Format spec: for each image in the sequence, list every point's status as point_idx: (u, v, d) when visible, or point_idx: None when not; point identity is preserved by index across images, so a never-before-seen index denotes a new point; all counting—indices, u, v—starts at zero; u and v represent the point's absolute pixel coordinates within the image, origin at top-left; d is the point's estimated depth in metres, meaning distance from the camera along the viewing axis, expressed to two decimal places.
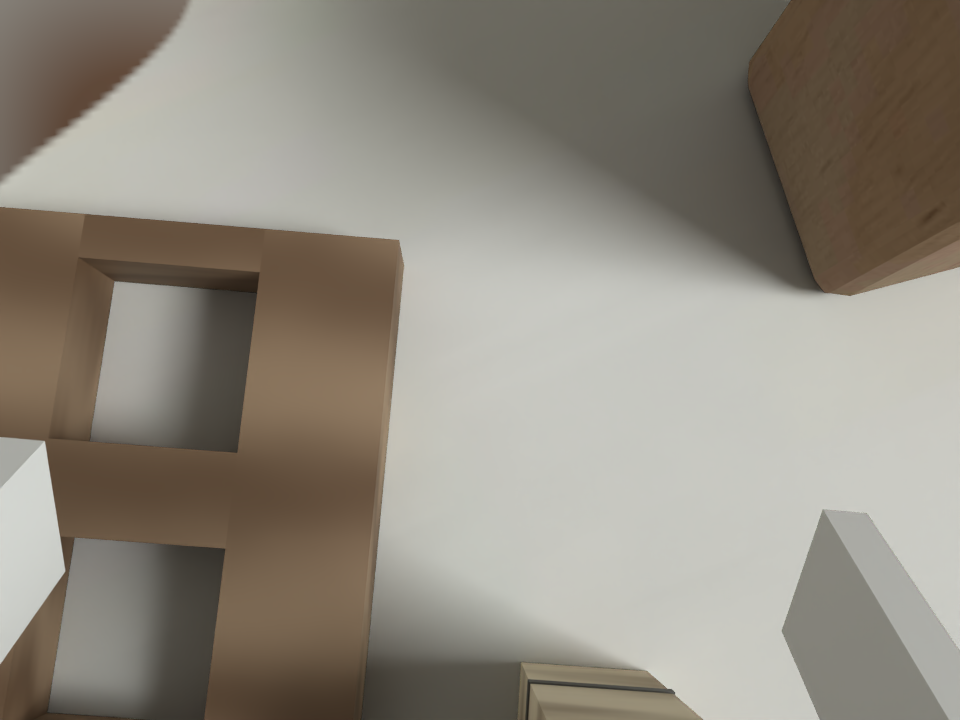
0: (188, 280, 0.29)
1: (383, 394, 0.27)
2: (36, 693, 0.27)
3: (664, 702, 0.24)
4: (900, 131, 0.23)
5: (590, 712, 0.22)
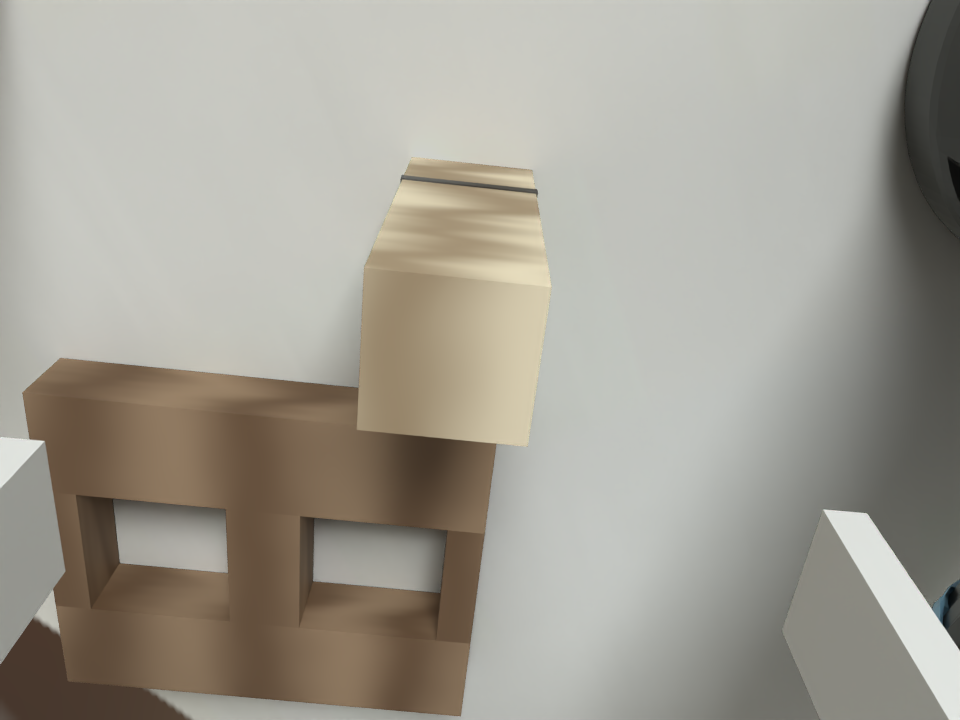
0: (103, 524, 0.36)
1: (162, 406, 0.31)
2: (420, 606, 0.38)
3: None
4: None
5: None
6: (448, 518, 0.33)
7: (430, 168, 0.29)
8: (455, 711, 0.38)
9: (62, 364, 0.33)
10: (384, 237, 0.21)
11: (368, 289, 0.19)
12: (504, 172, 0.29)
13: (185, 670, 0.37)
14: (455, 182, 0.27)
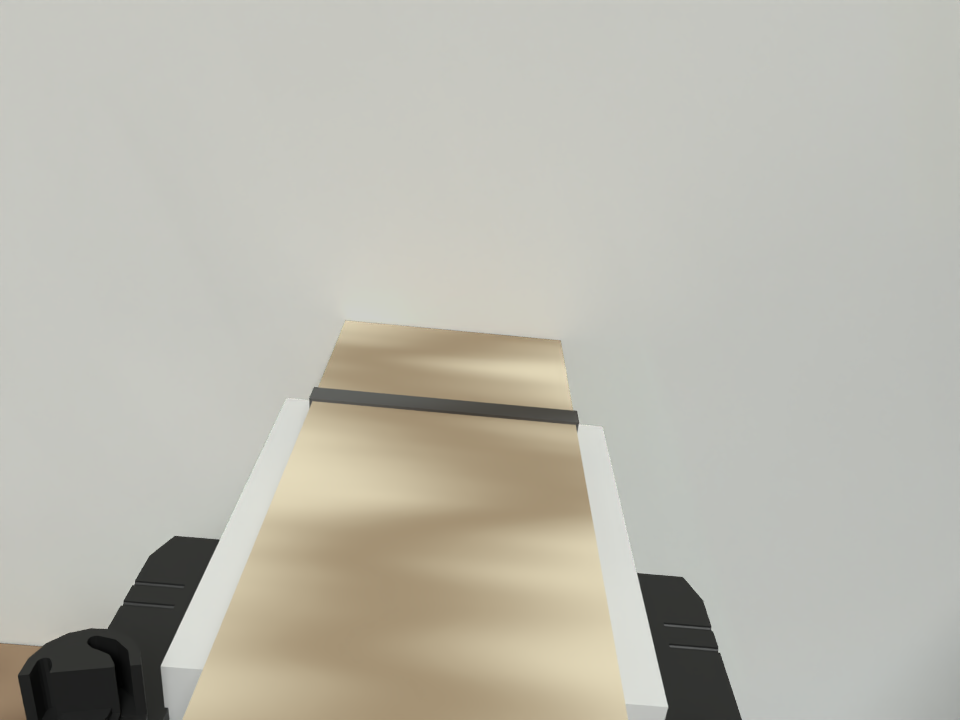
0: None
1: None
2: None
3: None
4: None
5: None
6: None
7: (375, 356, 0.15)
8: None
9: None
10: (206, 708, 0.08)
11: None
12: (511, 354, 0.16)
13: None
14: (417, 406, 0.14)
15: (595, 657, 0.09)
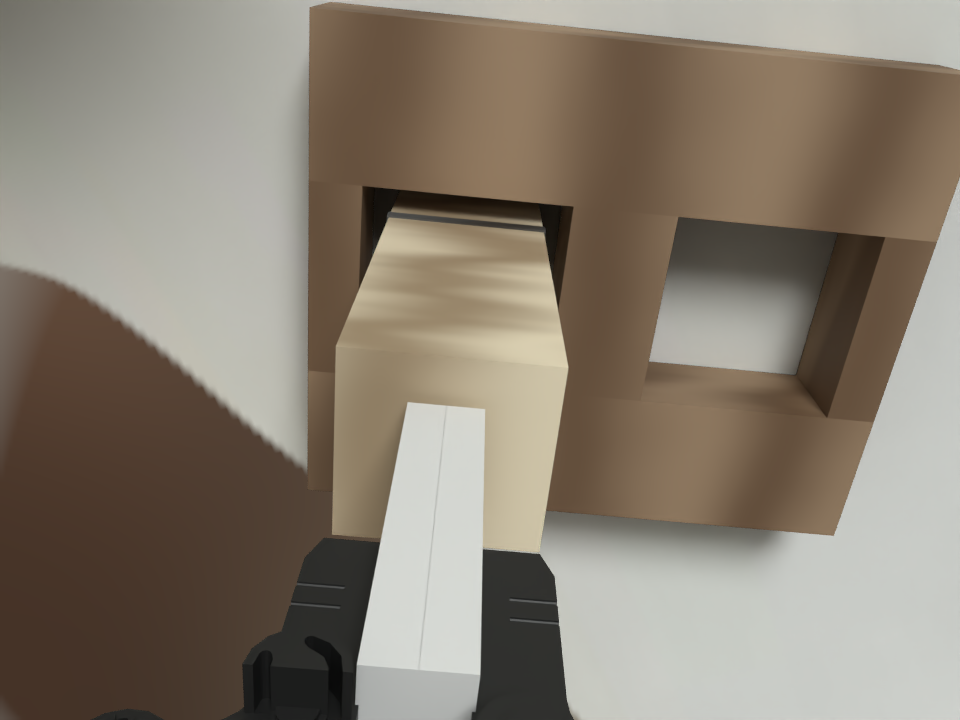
0: (368, 262, 0.26)
1: (512, 29, 0.21)
2: (781, 386, 0.28)
3: None
4: None
5: None
6: (891, 217, 0.23)
7: (422, 202, 0.25)
8: (828, 528, 0.28)
9: (338, 4, 0.23)
10: (363, 300, 0.18)
11: (342, 372, 0.16)
12: (506, 204, 0.26)
13: None
14: (450, 220, 0.23)
15: (545, 299, 0.19)
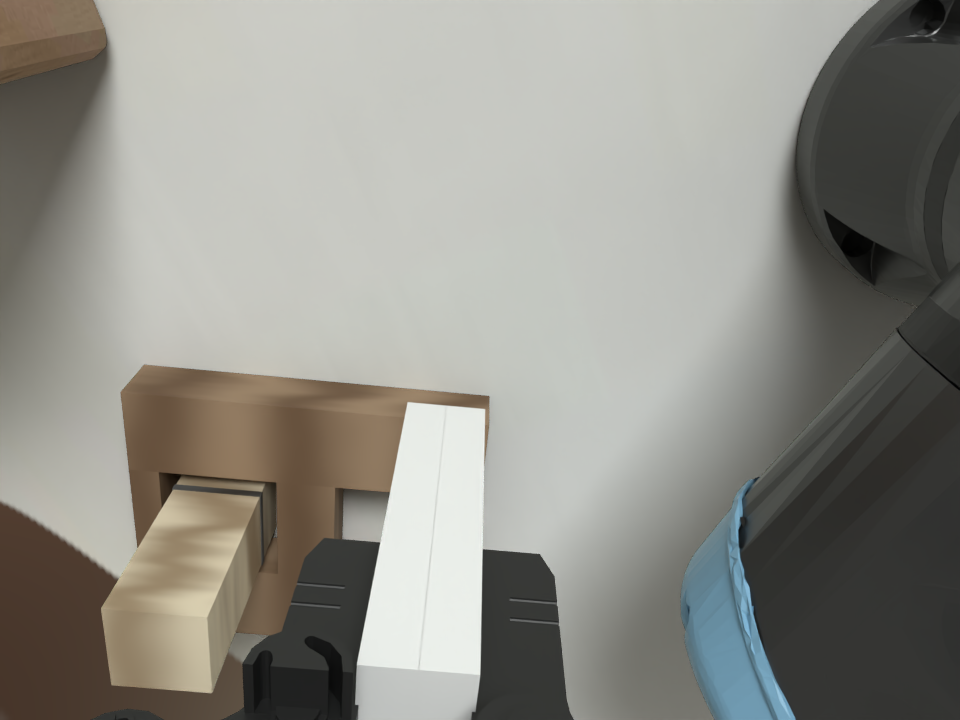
0: None
1: (229, 402, 0.40)
2: None
3: None
4: None
5: None
6: None
7: None
8: None
9: (146, 369, 0.42)
10: (128, 571, 0.37)
11: (105, 618, 0.35)
12: None
13: None
14: (207, 490, 0.42)
15: (225, 562, 0.38)
